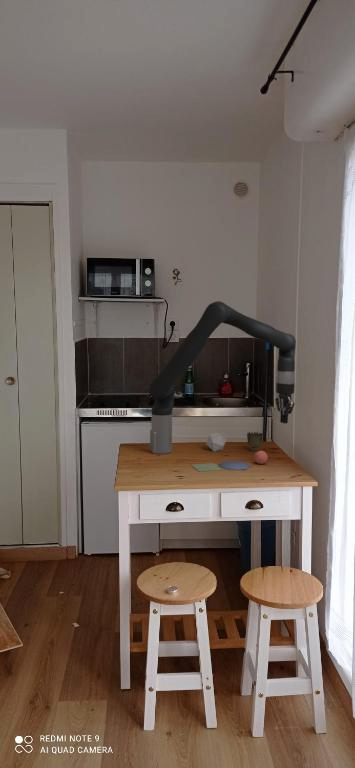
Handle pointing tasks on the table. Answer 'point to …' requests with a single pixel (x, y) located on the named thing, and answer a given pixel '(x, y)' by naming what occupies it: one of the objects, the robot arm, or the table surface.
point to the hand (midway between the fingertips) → (284, 422)
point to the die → (216, 441)
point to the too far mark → (206, 467)
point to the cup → (254, 440)
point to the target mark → (234, 465)
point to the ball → (261, 457)
